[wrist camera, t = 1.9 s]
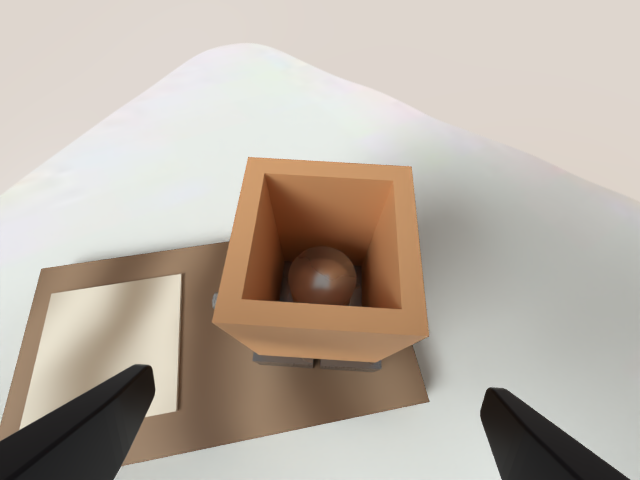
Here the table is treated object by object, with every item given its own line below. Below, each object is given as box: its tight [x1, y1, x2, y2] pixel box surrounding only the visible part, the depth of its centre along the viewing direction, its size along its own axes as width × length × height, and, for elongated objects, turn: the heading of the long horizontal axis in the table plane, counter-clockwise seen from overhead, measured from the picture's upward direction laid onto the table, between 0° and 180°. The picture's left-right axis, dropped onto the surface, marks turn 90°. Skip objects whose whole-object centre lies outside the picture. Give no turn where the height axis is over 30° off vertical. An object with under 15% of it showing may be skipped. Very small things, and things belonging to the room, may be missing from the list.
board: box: [0, 241, 429, 466], centre depth 19 cm, size 23×12×2 cm, turn 100°
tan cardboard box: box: [212, 157, 429, 363], centre depth 13 cm, size 6×6×8 cm
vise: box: [212, 246, 382, 372], centre depth 16 cm, size 7×10×6 cm
